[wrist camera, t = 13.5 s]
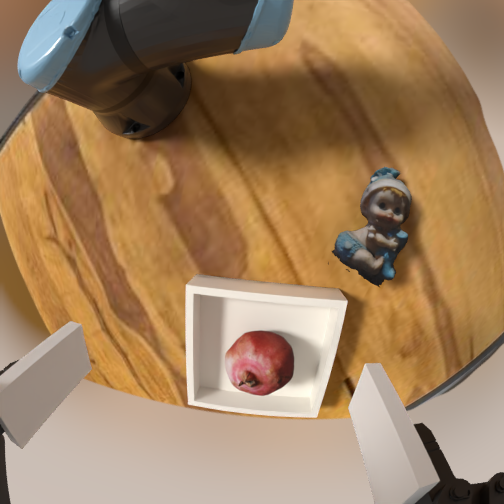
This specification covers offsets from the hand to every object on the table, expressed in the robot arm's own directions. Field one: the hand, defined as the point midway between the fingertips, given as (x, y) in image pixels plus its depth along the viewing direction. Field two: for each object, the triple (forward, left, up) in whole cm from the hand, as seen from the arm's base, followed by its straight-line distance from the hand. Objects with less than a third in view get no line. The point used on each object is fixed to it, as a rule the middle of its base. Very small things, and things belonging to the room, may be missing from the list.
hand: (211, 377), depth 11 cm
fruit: (+10, -10, -26) cm, 29 cm away
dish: (+10, -10, -27) cm, 30 cm away
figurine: (+9, +14, -27) cm, 32 cm away
